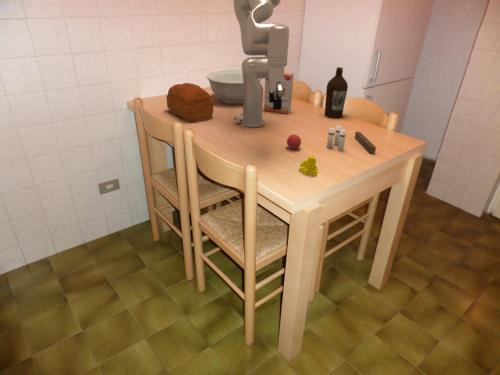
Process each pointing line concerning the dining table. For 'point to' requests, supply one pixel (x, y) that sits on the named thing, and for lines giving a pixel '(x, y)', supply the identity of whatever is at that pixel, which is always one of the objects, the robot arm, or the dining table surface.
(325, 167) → the dining table surface
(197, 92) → the bread
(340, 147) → the pin
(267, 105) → the cracker box
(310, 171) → the grapes
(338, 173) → the dining table surface
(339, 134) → the pin
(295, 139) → the ball
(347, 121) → the dining table surface
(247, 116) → the robot arm
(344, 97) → the olive oil
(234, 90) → the bowl
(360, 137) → the dark grey bar
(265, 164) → the dining table surface
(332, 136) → the front pin
